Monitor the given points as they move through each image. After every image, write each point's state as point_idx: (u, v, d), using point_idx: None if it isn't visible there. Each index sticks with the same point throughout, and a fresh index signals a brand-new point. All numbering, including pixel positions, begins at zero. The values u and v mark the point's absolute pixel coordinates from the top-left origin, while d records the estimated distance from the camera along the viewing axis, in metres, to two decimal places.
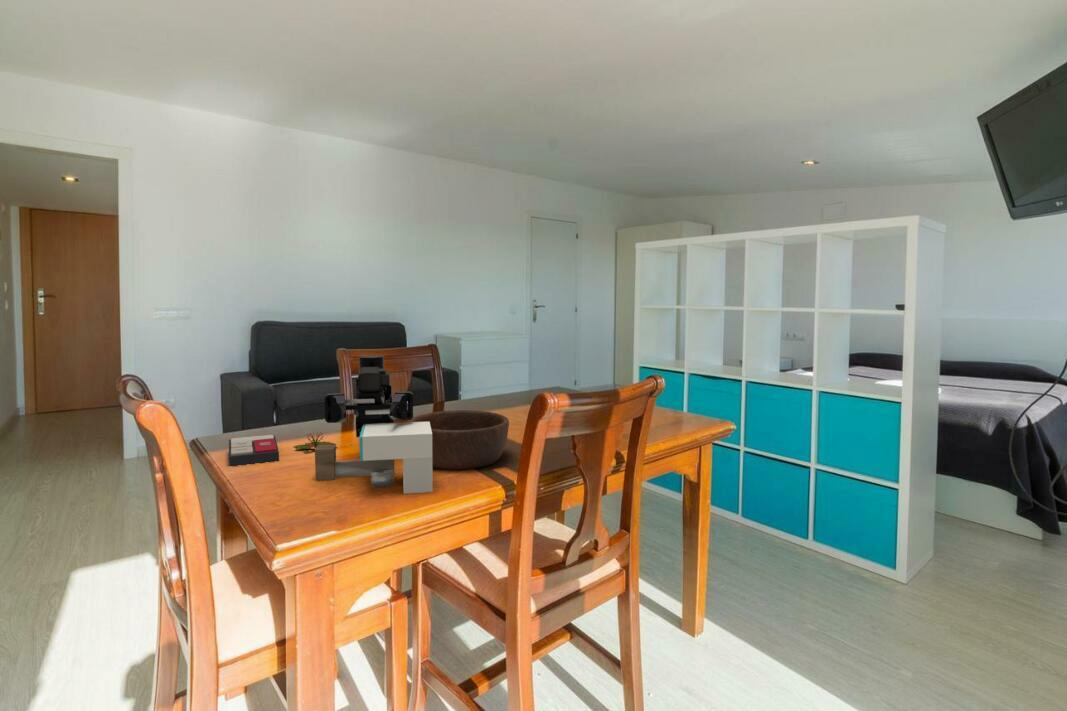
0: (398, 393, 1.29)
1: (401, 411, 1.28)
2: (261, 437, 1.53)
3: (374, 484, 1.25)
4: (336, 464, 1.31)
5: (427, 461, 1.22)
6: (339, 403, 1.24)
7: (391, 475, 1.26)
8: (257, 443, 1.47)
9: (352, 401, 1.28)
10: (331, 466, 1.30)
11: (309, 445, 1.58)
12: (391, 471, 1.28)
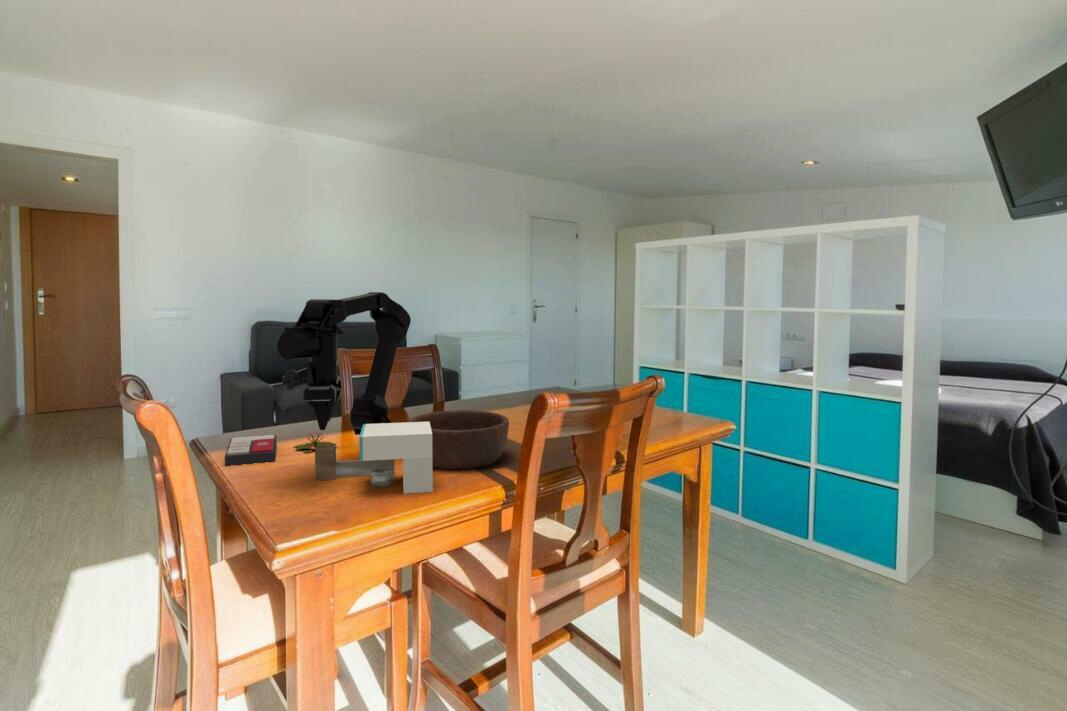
0: None
1: None
2: (262, 437, 1.53)
3: (374, 484, 1.25)
4: (336, 464, 1.31)
5: (427, 461, 1.22)
6: None
7: (391, 475, 1.26)
8: (255, 443, 1.47)
9: None
10: (331, 466, 1.30)
11: (309, 445, 1.58)
12: (391, 471, 1.28)
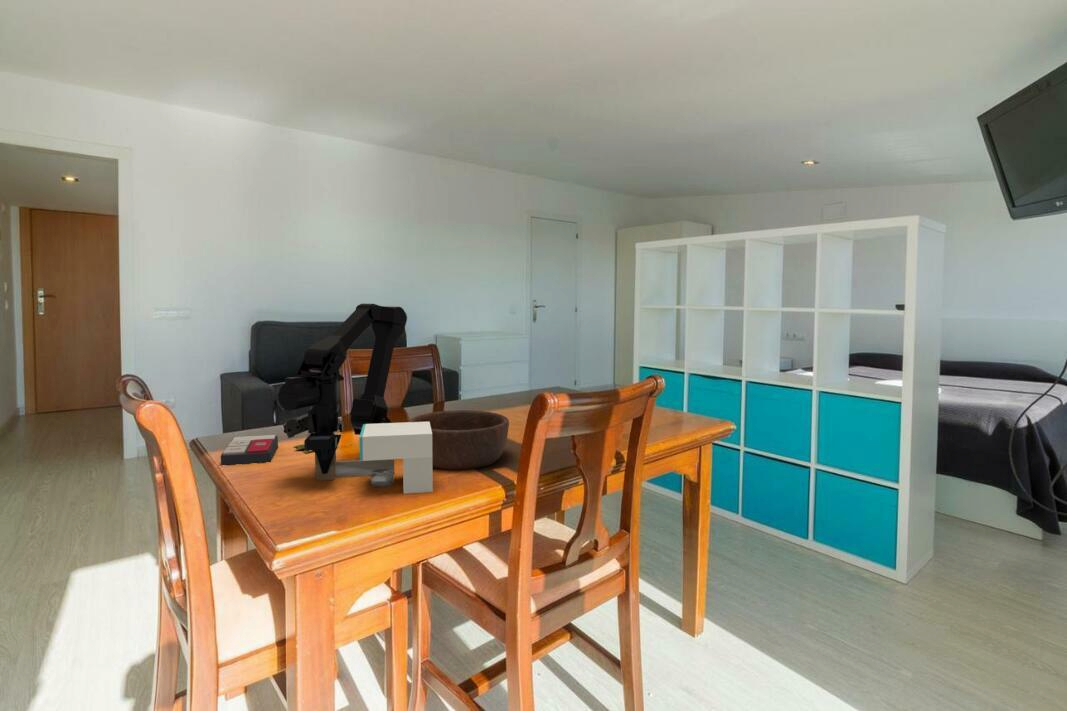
0: None
1: None
2: (262, 437, 1.53)
3: (374, 484, 1.25)
4: (336, 464, 1.31)
5: (427, 461, 1.22)
6: None
7: (391, 475, 1.26)
8: (254, 443, 1.47)
9: None
10: (331, 466, 1.30)
11: None
12: (391, 471, 1.28)
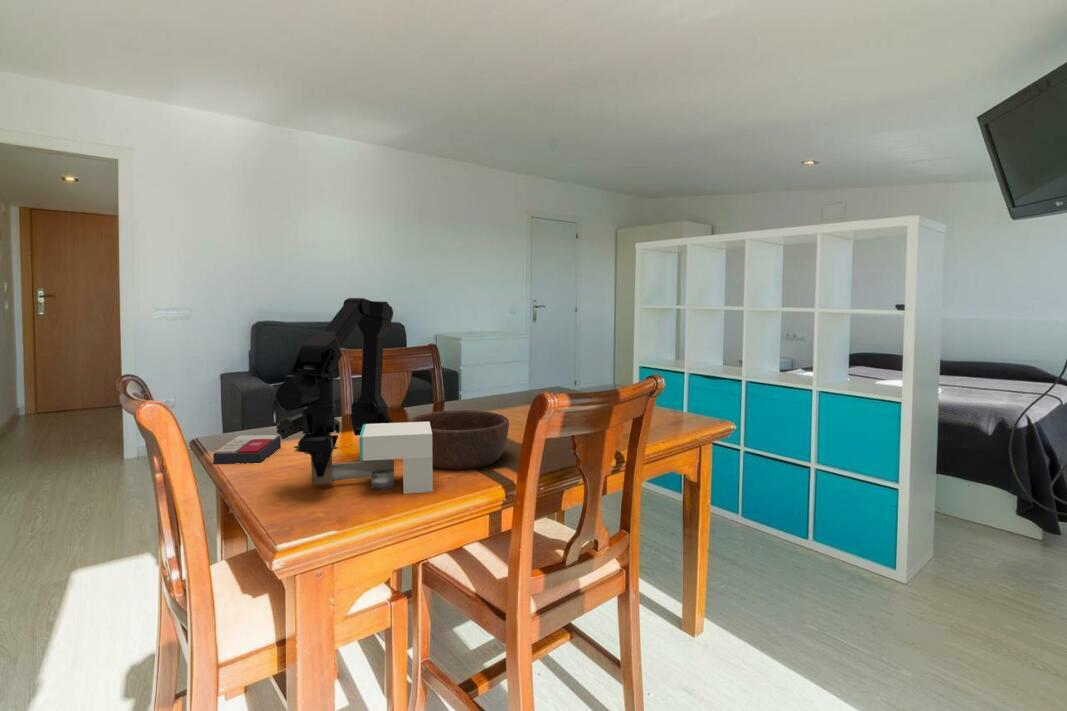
0: None
1: None
2: (264, 437, 1.53)
3: (374, 485, 1.24)
4: (333, 466, 1.25)
5: (427, 461, 1.22)
6: None
7: (392, 476, 1.25)
8: (250, 443, 1.48)
9: None
10: (328, 469, 1.23)
11: None
12: (391, 472, 1.26)
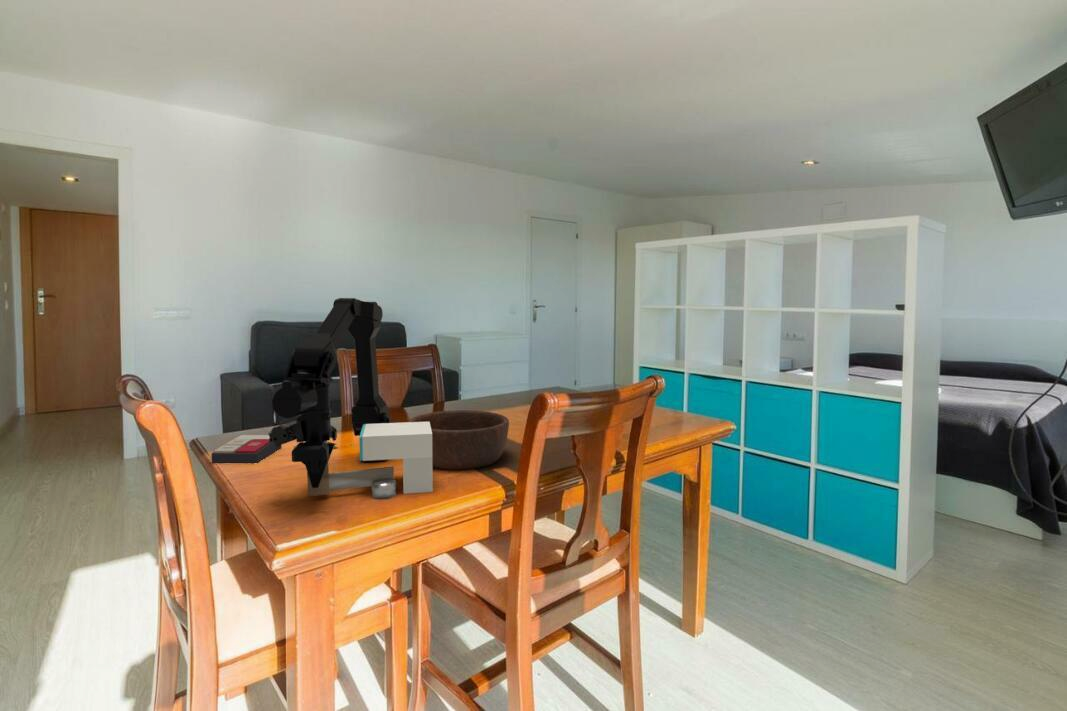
0: None
1: None
2: (264, 437, 1.53)
3: (376, 495, 1.18)
4: (330, 476, 1.18)
5: (427, 461, 1.22)
6: None
7: (394, 485, 1.19)
8: (250, 443, 1.48)
9: None
10: (325, 480, 1.16)
11: None
12: (393, 481, 1.21)
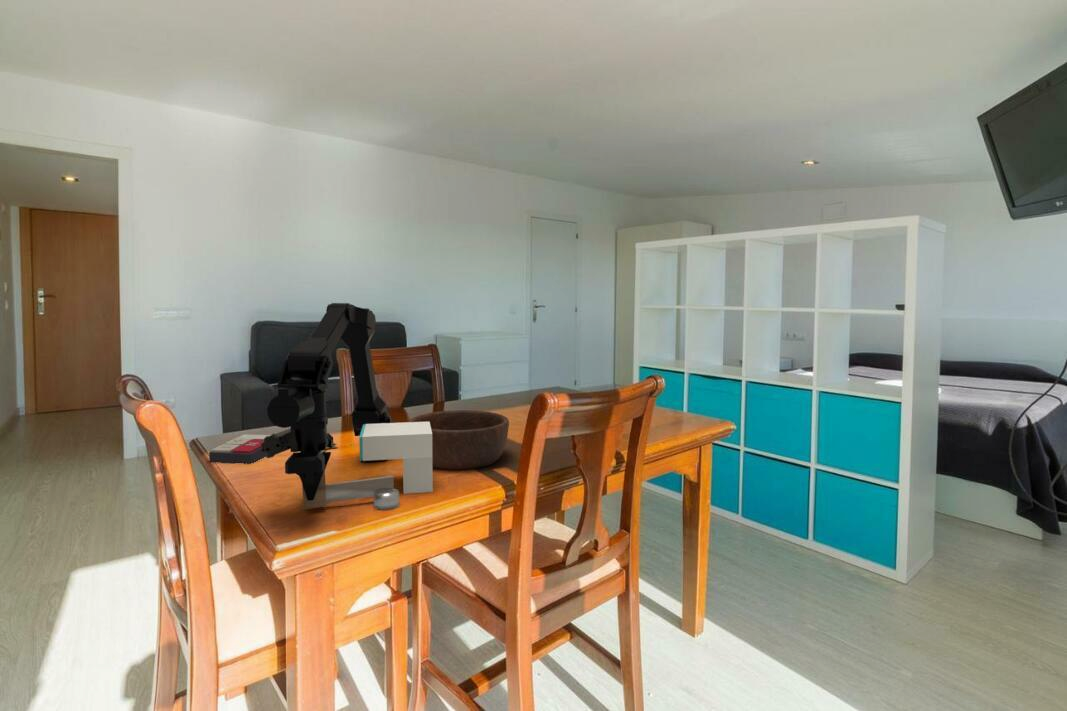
0: None
1: None
2: None
3: (380, 506, 1.12)
4: (327, 487, 1.12)
5: (427, 461, 1.22)
6: None
7: (398, 495, 1.14)
8: (248, 442, 1.48)
9: None
10: (322, 491, 1.10)
11: None
12: (396, 490, 1.15)
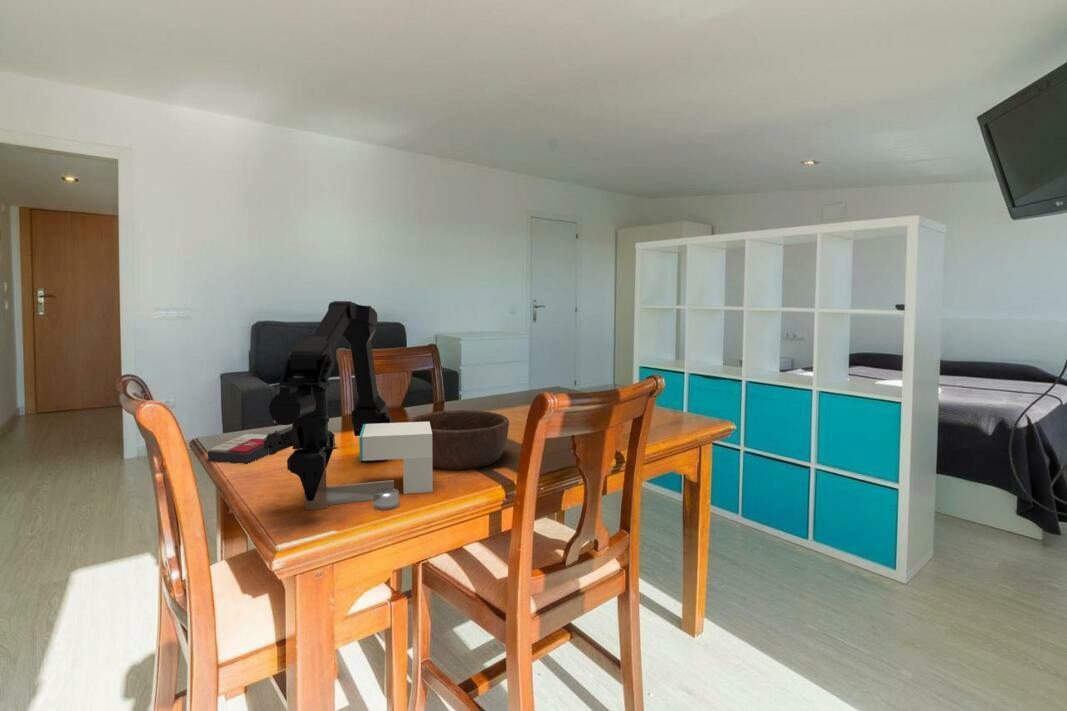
0: None
1: None
2: (266, 436, 1.54)
3: (380, 507, 1.12)
4: (328, 489, 1.14)
5: (427, 461, 1.22)
6: None
7: (397, 495, 1.14)
8: (247, 442, 1.48)
9: None
10: (323, 493, 1.12)
11: None
12: (396, 491, 1.15)
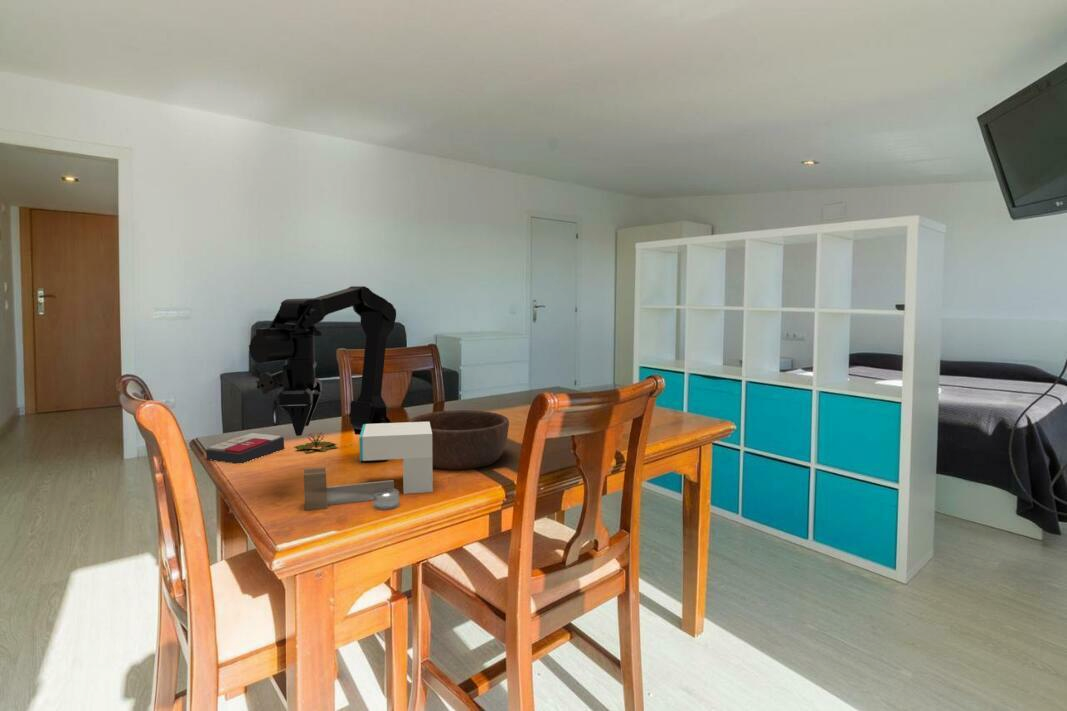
0: None
1: None
2: (267, 436, 1.54)
3: (380, 506, 1.12)
4: (328, 490, 1.14)
5: (427, 461, 1.22)
6: None
7: (398, 495, 1.14)
8: (246, 442, 1.48)
9: None
10: (323, 493, 1.12)
11: (310, 445, 1.58)
12: (396, 491, 1.15)
